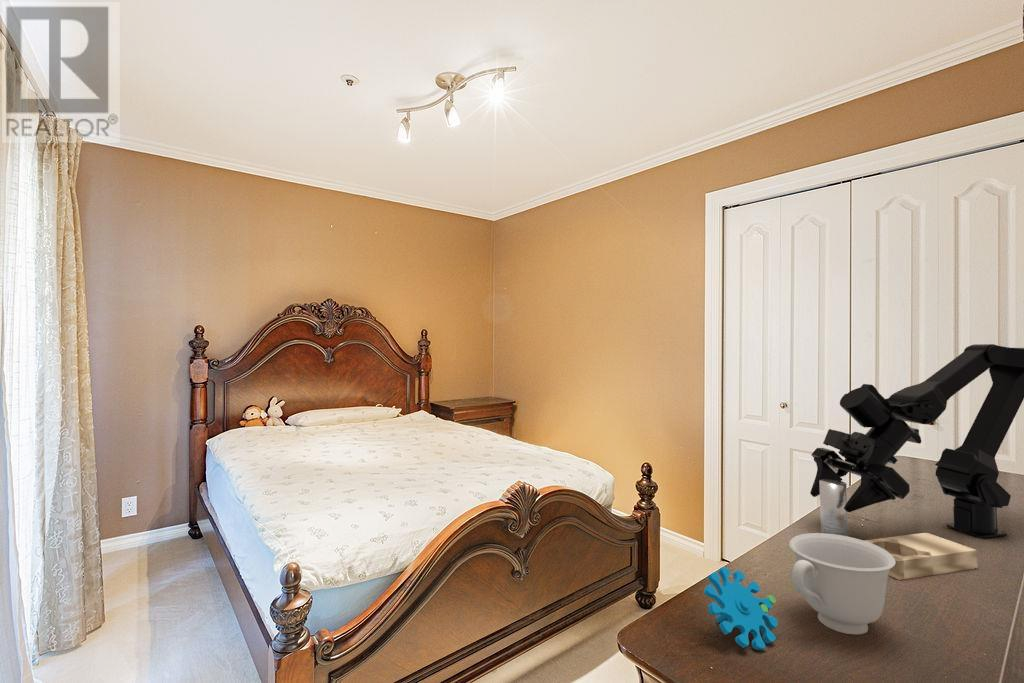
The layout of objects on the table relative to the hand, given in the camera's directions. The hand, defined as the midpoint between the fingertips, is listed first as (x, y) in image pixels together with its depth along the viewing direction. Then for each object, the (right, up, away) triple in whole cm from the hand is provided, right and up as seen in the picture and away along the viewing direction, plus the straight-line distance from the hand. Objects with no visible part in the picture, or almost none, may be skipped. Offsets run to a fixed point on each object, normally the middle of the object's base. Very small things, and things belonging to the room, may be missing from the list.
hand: (828, 502), depth 94 cm
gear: (-31, -8, -30) cm, 43 cm away
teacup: (-18, -7, -28) cm, 34 cm away
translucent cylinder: (+1, -7, 0) cm, 7 cm away
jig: (+7, -7, -11) cm, 15 cm away
